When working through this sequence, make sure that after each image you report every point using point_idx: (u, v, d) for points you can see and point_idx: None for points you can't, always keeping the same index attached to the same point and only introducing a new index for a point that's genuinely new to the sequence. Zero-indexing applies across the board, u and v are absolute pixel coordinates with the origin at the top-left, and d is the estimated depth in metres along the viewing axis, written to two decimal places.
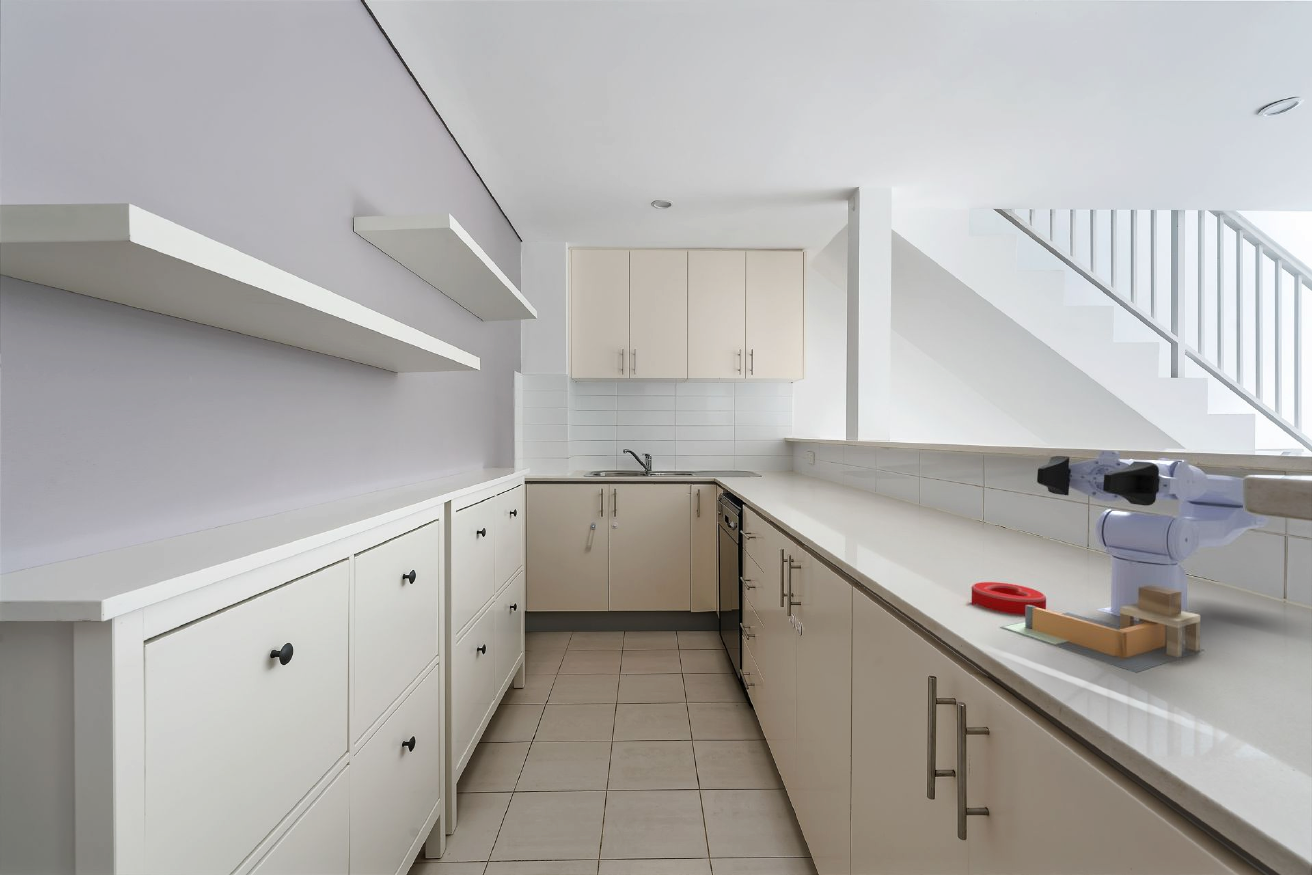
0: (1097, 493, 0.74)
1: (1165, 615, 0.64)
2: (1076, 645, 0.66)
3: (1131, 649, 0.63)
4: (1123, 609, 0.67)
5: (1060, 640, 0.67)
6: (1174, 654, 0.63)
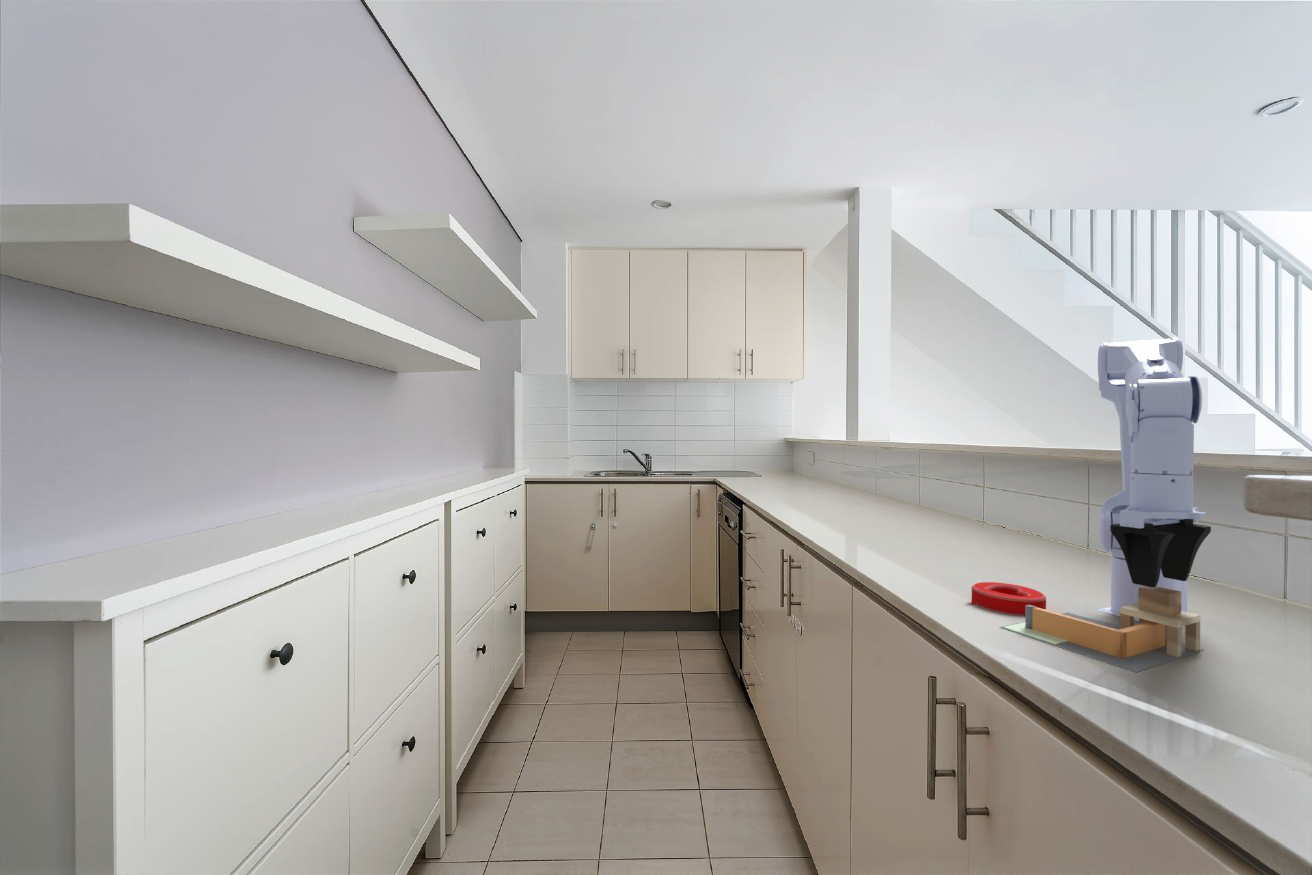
0: None
1: (1165, 615, 0.64)
2: (1076, 645, 0.66)
3: (1131, 649, 0.63)
4: (1123, 609, 0.67)
5: (1060, 640, 0.67)
6: (1174, 654, 0.63)
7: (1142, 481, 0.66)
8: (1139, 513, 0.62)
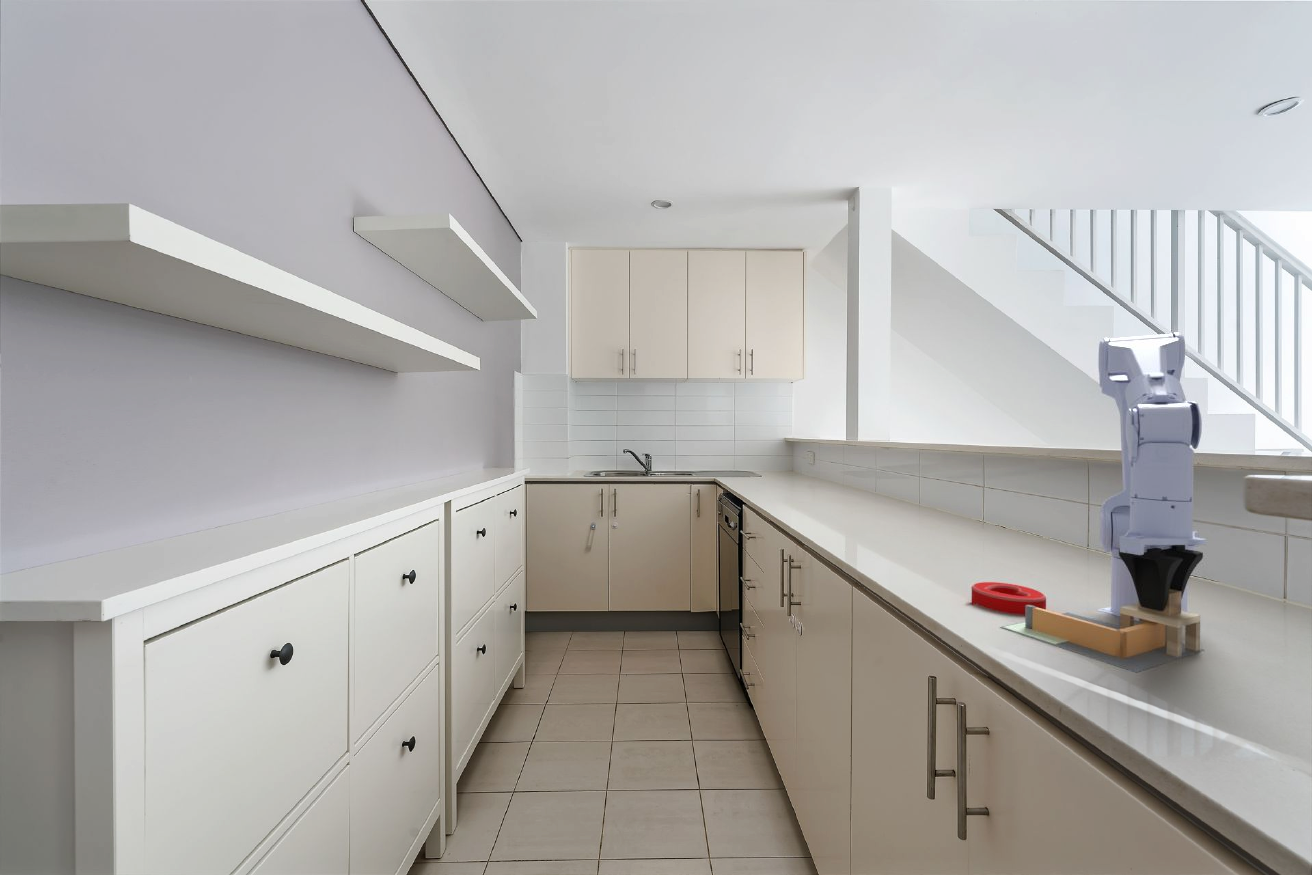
0: None
1: (1165, 615, 0.64)
2: (1076, 645, 0.66)
3: (1131, 649, 0.63)
4: (1123, 609, 0.67)
5: (1060, 640, 0.67)
6: (1174, 654, 0.63)
7: (1142, 506, 0.66)
8: (1139, 540, 0.62)
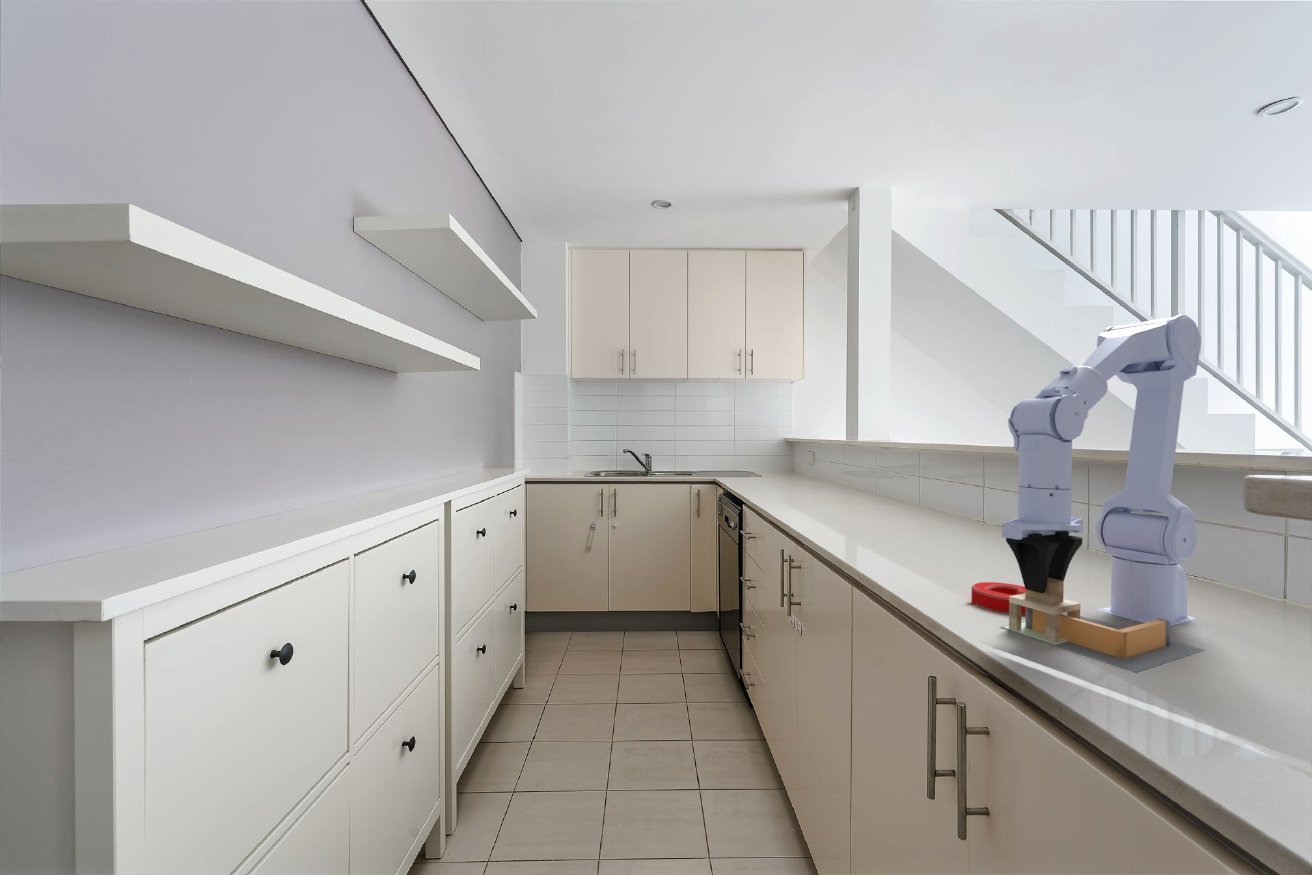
0: None
1: (1046, 603, 0.68)
2: (1076, 645, 0.66)
3: (1131, 649, 0.63)
4: (1011, 598, 0.71)
5: (1060, 640, 0.67)
6: (1052, 640, 0.66)
7: (1025, 494, 0.70)
8: (1017, 525, 0.66)
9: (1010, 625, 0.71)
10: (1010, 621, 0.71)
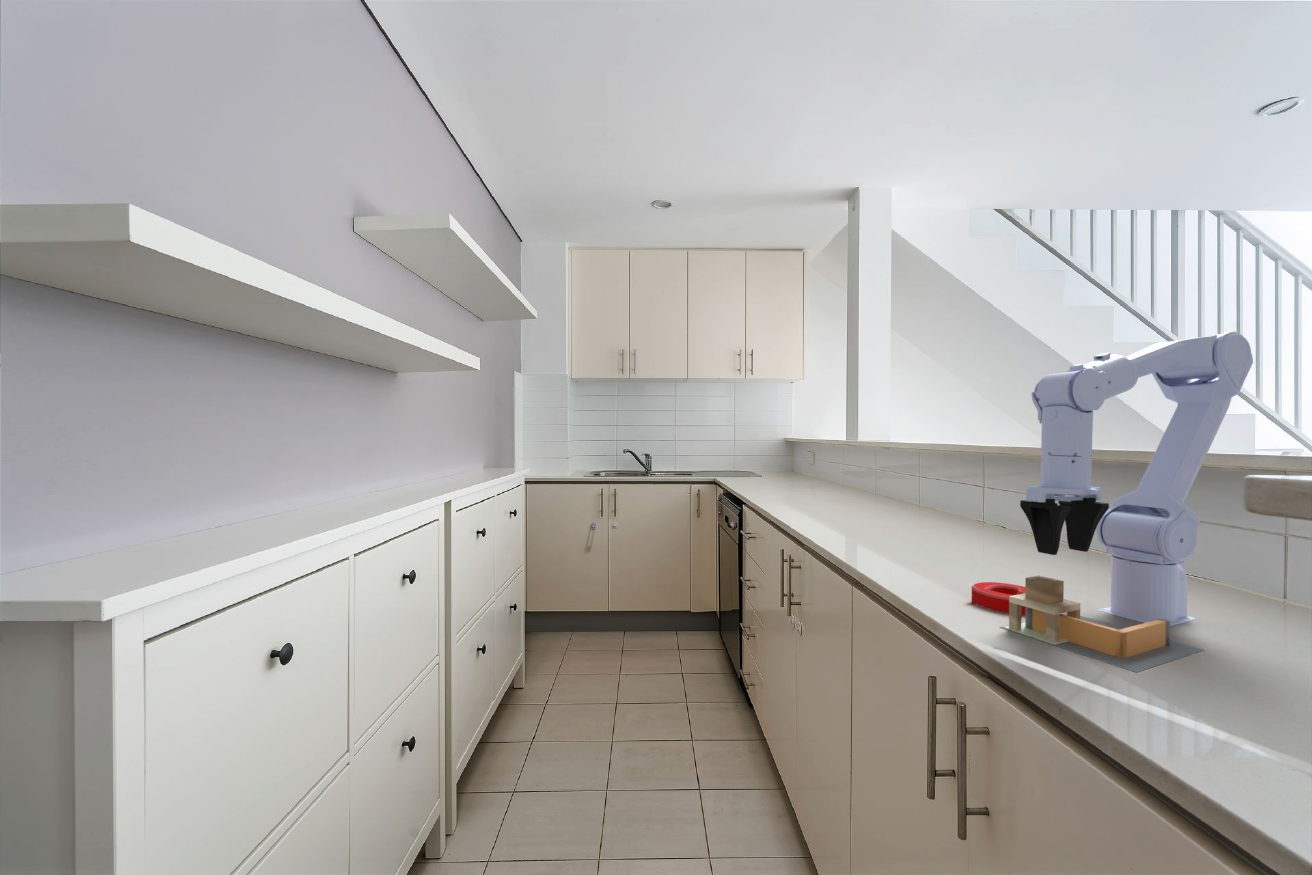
0: None
1: (1046, 603, 0.68)
2: (1076, 645, 0.66)
3: (1131, 649, 0.63)
4: (1011, 598, 0.71)
5: (1060, 640, 0.67)
6: (1052, 640, 0.66)
7: (1048, 462, 0.74)
8: (1041, 489, 0.71)
9: (1010, 625, 0.71)
10: (1010, 621, 0.71)
